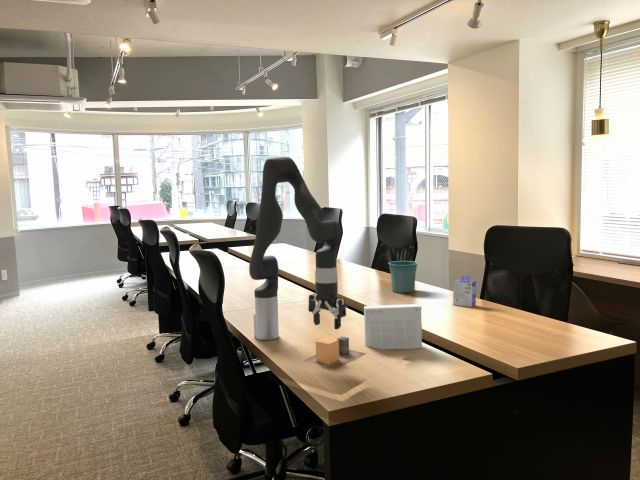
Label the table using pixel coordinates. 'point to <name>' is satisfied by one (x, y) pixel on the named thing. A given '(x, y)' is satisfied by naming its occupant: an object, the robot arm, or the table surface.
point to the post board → (340, 355)
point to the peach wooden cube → (327, 350)
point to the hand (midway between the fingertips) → (327, 326)
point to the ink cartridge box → (464, 292)
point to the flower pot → (403, 276)
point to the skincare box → (393, 326)
